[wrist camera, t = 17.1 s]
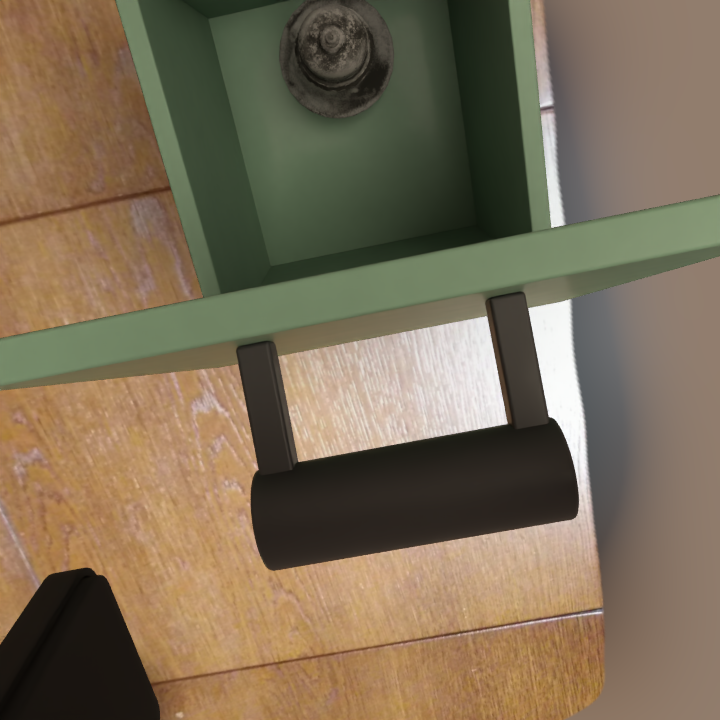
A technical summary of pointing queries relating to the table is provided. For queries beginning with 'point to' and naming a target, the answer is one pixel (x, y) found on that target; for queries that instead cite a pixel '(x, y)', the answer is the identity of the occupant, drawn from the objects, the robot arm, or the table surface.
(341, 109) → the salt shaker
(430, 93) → the chest
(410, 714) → the table surface
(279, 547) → the lid
